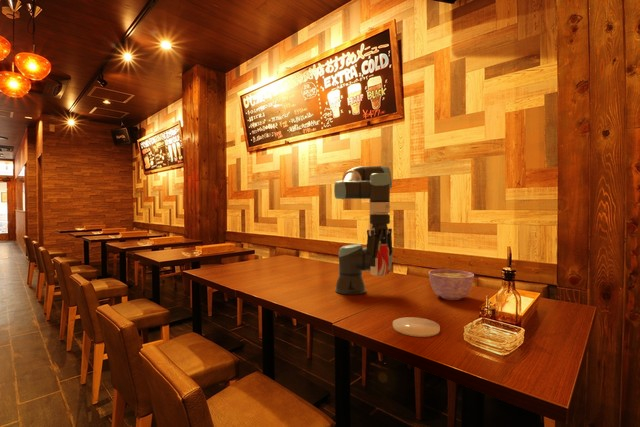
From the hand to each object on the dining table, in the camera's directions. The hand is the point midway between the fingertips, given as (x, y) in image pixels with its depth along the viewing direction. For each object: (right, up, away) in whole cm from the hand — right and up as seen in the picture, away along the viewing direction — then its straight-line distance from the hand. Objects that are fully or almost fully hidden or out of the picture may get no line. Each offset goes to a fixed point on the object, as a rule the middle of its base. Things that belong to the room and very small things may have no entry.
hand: (379, 273), depth 131 cm
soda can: (0, -1, 0) cm, 1 cm away
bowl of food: (+38, -17, +28) cm, 50 cm away
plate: (+11, -17, -11) cm, 23 cm away
